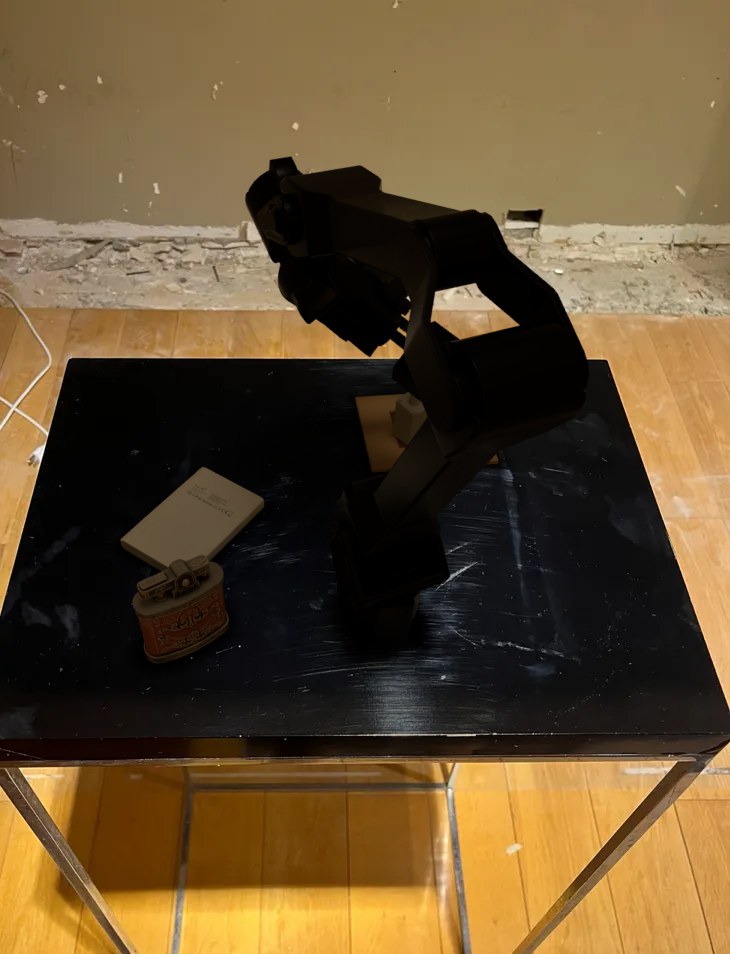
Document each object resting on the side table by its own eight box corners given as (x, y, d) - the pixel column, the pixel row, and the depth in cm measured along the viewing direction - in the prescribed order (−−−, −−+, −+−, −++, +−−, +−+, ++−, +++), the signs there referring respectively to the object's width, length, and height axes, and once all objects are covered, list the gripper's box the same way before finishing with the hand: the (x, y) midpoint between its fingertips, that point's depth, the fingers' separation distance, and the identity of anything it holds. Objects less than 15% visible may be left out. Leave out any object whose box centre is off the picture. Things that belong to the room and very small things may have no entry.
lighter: (218, 605, 77) (209, 535, 69) (235, 630, 75) (229, 562, 68) (138, 643, 74) (120, 575, 66) (154, 671, 72) (138, 604, 65)
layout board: (497, 463, 90) (498, 459, 90) (371, 472, 89) (372, 468, 88) (471, 393, 98) (472, 389, 97) (355, 400, 96) (355, 396, 96)
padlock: (411, 451, 90) (422, 379, 83) (388, 431, 92) (396, 358, 85) (459, 425, 93) (473, 353, 85) (435, 406, 95) (447, 334, 87)
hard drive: (122, 549, 81) (203, 475, 88) (186, 587, 78) (264, 508, 85) (119, 538, 80) (201, 464, 87) (184, 577, 77) (264, 497, 84)
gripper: (472, 261, 63) (539, 332, 76) (326, 164, 73) (408, 242, 86) (384, 379, 66) (463, 428, 79) (255, 272, 76) (344, 332, 88)
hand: (419, 352), depth 83 cm, fingers open, 9 cm apart
